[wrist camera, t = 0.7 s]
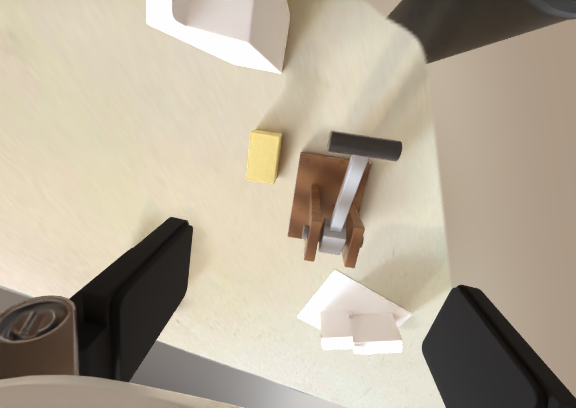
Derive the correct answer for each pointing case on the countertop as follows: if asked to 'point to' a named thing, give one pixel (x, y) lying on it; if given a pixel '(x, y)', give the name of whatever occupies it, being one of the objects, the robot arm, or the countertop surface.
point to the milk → (228, 28)
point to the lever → (352, 181)
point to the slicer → (325, 204)
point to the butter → (263, 156)
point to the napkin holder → (354, 317)
